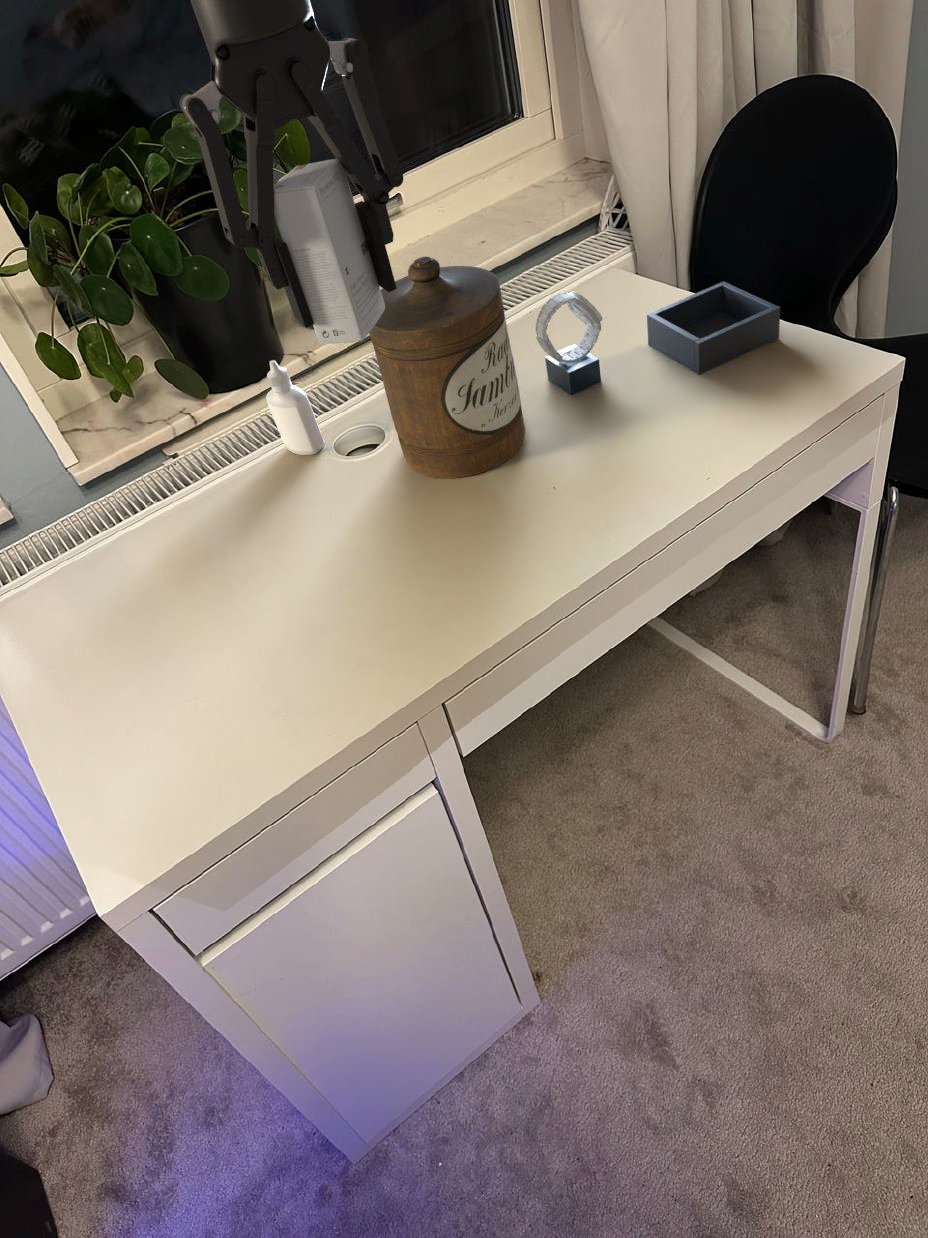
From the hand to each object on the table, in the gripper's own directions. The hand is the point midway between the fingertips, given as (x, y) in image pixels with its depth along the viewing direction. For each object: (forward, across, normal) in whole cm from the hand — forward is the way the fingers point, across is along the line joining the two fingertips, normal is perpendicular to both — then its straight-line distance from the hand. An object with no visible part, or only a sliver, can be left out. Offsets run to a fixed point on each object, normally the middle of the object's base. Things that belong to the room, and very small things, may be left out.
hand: (345, 302), depth 70 cm
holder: (+27, -46, -10) cm, 55 cm away
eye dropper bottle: (+27, +3, -28) cm, 39 cm away
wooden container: (+27, -13, -14) cm, 33 cm away
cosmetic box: (+2, 0, 0) cm, 2 cm away
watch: (+27, -30, -16) cm, 43 cm away
